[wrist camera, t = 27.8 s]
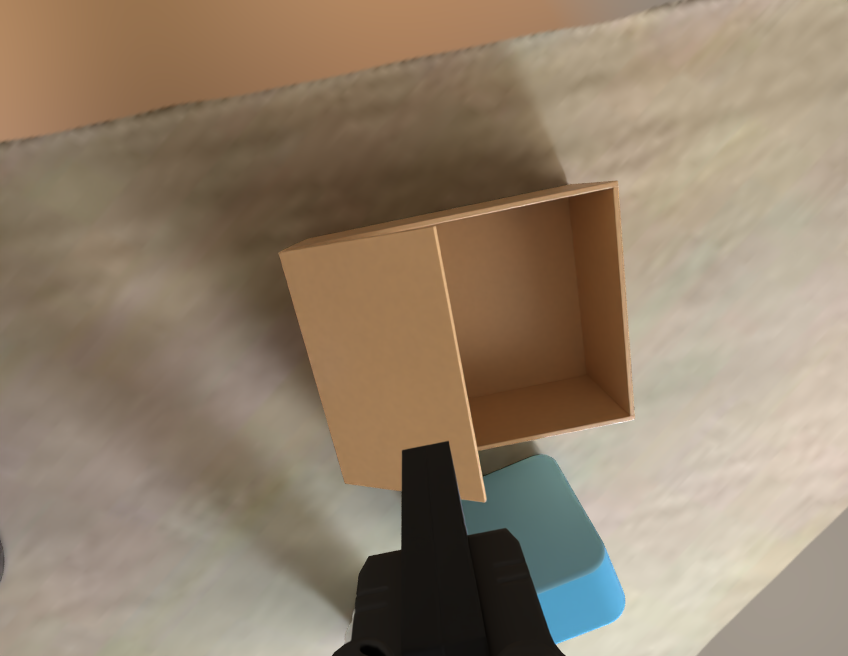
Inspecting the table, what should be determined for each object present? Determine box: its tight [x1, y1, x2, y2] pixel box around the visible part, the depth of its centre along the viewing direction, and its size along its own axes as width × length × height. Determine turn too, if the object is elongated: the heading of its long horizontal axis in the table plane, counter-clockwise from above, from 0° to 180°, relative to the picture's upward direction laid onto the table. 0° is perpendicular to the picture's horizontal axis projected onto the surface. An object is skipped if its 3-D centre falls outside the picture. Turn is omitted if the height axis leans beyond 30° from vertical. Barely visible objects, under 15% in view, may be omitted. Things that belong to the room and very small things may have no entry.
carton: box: [282, 181, 635, 451], centre depth 30 cm, size 19×15×7 cm
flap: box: [279, 226, 487, 503], centre depth 24 cm, size 9×14×1 cm, turn 11°
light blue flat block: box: [461, 455, 625, 644], centre depth 32 cm, size 12×4×12 cm, turn 114°
